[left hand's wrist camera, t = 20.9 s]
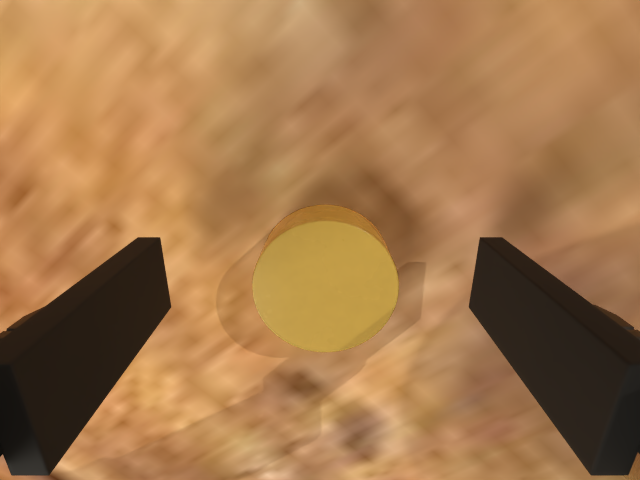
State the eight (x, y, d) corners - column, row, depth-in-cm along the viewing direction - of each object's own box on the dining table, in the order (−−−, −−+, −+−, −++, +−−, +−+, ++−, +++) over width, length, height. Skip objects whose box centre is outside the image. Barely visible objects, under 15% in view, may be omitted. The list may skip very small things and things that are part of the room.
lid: (409, 286, 15) (423, 314, 13) (303, 339, 16) (300, 373, 14) (350, 179, 14) (355, 192, 12) (236, 243, 15) (222, 266, 13)
